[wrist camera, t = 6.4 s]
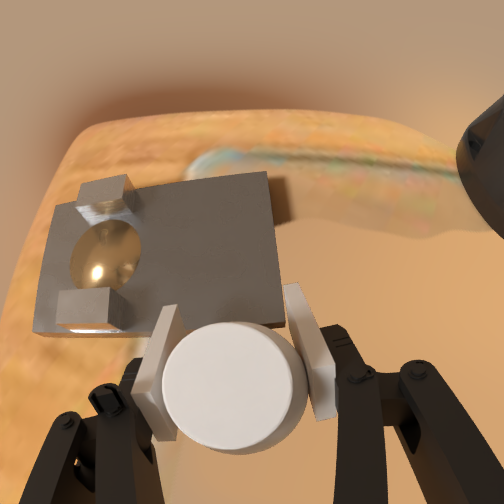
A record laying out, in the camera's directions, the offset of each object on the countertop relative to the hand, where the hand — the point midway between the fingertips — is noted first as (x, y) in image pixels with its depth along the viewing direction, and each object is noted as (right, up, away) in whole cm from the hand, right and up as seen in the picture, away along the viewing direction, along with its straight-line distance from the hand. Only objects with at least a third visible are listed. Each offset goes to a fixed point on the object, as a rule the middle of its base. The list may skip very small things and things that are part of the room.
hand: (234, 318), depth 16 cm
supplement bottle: (+1, -5, +2) cm, 5 cm away
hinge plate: (-7, +3, +6) cm, 9 cm away
